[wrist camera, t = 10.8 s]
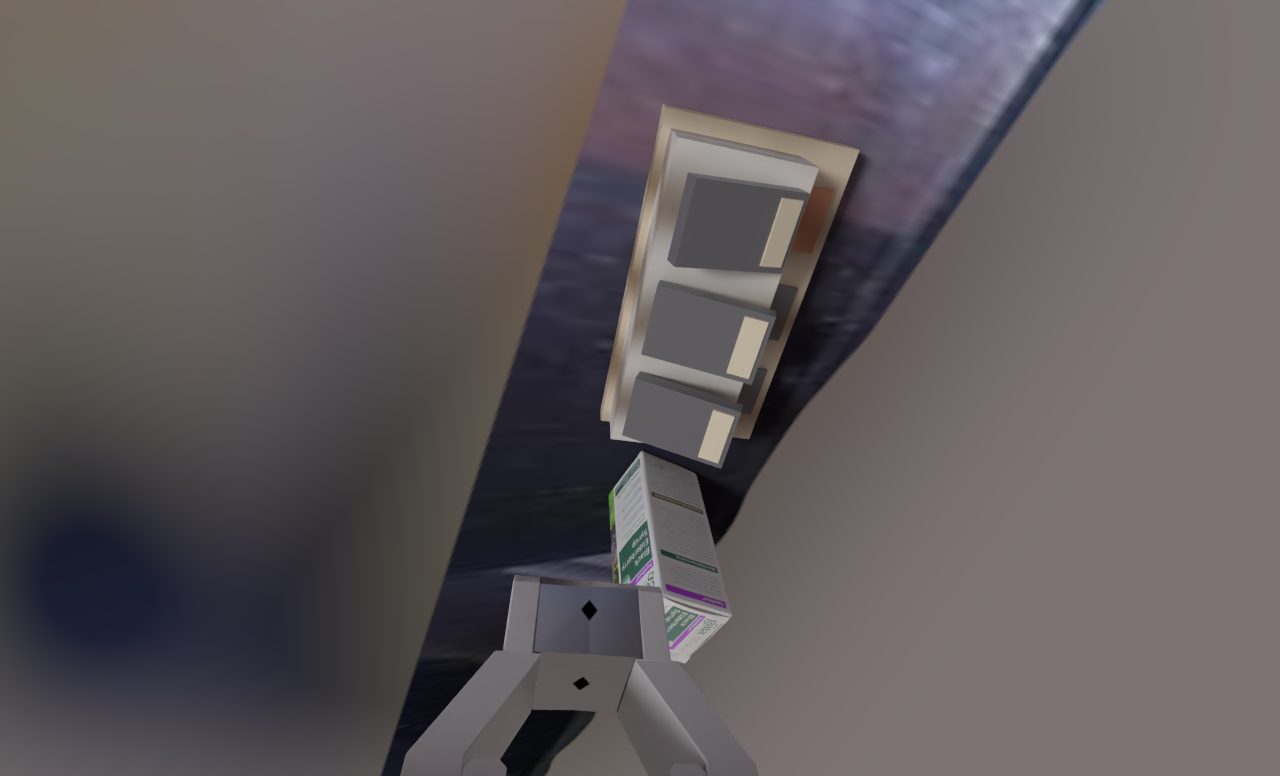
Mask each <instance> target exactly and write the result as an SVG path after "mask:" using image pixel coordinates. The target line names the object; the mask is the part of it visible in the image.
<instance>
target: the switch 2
mask: <svg viewBox="0 0 1280 776" xmlns="http://www.w3.org/2000/svg"><path fill="white" fill-rule="evenodd" d="M742 407H743V404H740V403H736V402H733V401H730V400H727V399H724V398H721V397H718V396H715V395H711V394H708V393H705V392H702V391H699V390H696V389H693V388H690V387H686V386H683V385H680V384H677V383H674V382H671V381H668V380H665V379H661V378H658V377H655V376H652V375H649V374H646V373H643V372H640V371H639V373H638V375H637V376H636V378H635V382H634V386H633V391H632V395H631V399H630V403H629V408H628V412H627V416H626V420H625V425H624V429H623V433H622V435H623V436H626V437H629V438H632V439H635V440H638V441H640V442H643V443H646V444H649V445H652V446H655V447H658V448H661V449H664V450H667V451H670V452H673V453H676V454H679V455H682V456H685V457H688V458H691V459H694V460H697V461H700V462H703V463H706V464H709V465H712V466H715V467H718V468H721V467H722V465H723V462H724V459H725V456H726V453H727V451H728V448H729V445H730V442H731V440H732V437H733V434H734V431H735V429H736V426H737V423H738V420H739V418H740V415H741V412H742Z"/></svg>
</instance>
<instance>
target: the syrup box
mask: <svg viewBox="0 0 1280 776" xmlns="http://www.w3.org/2000/svg"><path fill="white" fill-rule="evenodd" d="M609 509H610V528H611V548H612V566H613V583H622V584H635V585H642V586H655V587H660V589H661V590H662V595H663V603H664V611H665V618H666V626H667V634H668V642H669V650H670V658H671V660H672V661H678V662H682V663H686V662H687V660H688V659H689V658H690V656H691V655H692V654H693V653H694V652H695V651H696V650H697V649H698V648H699V647H700V646H702V645H703V644H704V643H705V642H706V641H707V640H708V639H709V638H711V637H712V635H713V634H714V633H716V632H717V630H718V629H719V628H721V626H722V625H723V624H724V623H726V622H727V621H728V620H729V619H730V618H731V617H732V613H731V609H730V605H729V601H728V597H727V593H726V590H725V585H724V581H723V578H722V574H721V570H720V566H719V561H718V558H717V554H716V550H715V546H714V542H713V538H712V534H711V530H710V526H709V522H708V518H707V515H706V511H705V507H704V502H703V499H702V495H701V491H700V487H699V483H698V479H697V475H696V474H695V473H693V472H691V471H689V470H687V469H685V468H682V467H680V466H678V465H676V464H673V463H671V462H668V461H666V460H664V459H661V458H659V457H656V456H654V455H651V454H649V453H646V452H644V451H641V452H640V453H639V455H638V457H637V458H636V459H635V460H634V462H633V463H632V464H631V465H630V467H629V468H628V469H627V471H626V472H625V473H624V475H623V476H622V477H621V479H620V480H619V482H618V483H617V484H616V486H615V487H614V488H613V490H612V491H611V493H610V494H609Z"/></svg>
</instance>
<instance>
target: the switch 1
mask: <svg viewBox="0 0 1280 776" xmlns="http://www.w3.org/2000/svg"><path fill="white" fill-rule="evenodd" d="M809 194H810V193H808V192H806V191H804V190H802V189H800V188H794V187H787V186H780V185H773V184H766V183H759V182H752V181H745V180H738V179H731V178H724V177H717V176H710V175H703V174H696V173H689V172H688V174H687V178H686V183H685V187H684V191H683V195H682V199H681V204H680V208H679V212H678V216H677V220H676V225H675V229H674V233H673V237H672V241H671V246H670V250H669V254H668V258H667V260H668V261H669V262H670V263H671V264H672V265H673V266H674V267H683V268H698V269H714V270H730V271H746V272H762V273H777V274H782V271H783V268H784V265H785V262H786V259H787V257H788V254H789V251H790V248H791V245H792V242H793V240H794V237H795V234H796V231H797V228H798V225H799V223H800V220H801V217H802V214H803V211H804V208H805V206H806V203H807V200H808V197H809Z"/></svg>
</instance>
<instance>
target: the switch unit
mask: <svg viewBox="0 0 1280 776" xmlns="http://www.w3.org/2000/svg"><path fill="white" fill-rule="evenodd" d="M859 151H860V150H858V149H856V148H853V147H851V146H848V145H844V144H839V143H835V142H830V141H826V140H821V139H817V138H812V137H808V136H804V135H799V134H795V133H790V132H786V131H781V130H777V129H772V128H768V127H764V126H759V125H755V124H750V123H746V122H741V121H737V120H733V119H728V118H724V117H719V116H715V115H710V114H706V113H701V112H697V111H693V110H688V109H684V108H679V107H675V106H670V105H666V104H663V106H662V111H661V116H660V121H659V126H658V131H657V136H656V141H655V145H654V150H653V155H652V160H651V165H650V170H649V175H648V180H647V185H646V190H645V194H644V199H643V204H642V209H641V214H640V219H639V224H638V229H637V234H636V239H635V243H634V248H633V253H632V258H631V263H630V268H629V273H628V278H627V283H626V288H625V293H624V297H623V302H622V307H621V312H620V317H619V322H618V327H617V332H616V337H615V342H614V346H613V351H612V356H611V361H610V366H609V371H608V376H607V381H606V386H605V391H604V396H603V400H602V405H601V420H602V421H610V432H611V439H616V440H625V441H633V442H640V441H638V440H635V439H632V438H629V437H626V436H623V435H622V433H623V429H624V425H625V420H626V416H627V412H628V408H629V403H630V399H631V395H632V391H633V386H634V382H635V378H636V376H637V375H638V373H639V371H640V372H643V373H646V374H649V375H652V376H655V377H658V378H661V379H665V380H668V381H671V382H674V383H677V384H680V385H683V386H686V387H690V388H693V389H696V390H699V391H702V392H705V393H708V394H711V395H715V396H718V397H721V398H724V399H727V400H730V401H733V402H736V403H740V404H743V407H742V412H741V415H740V418H739V420H738V423H737V426H736V429H735V431H734V434H733V437H736V438H744V439H749V438H750V435H751V433H752V430H753V427H754V425H755V422H756V420H757V417H758V414H759V412H760V409H761V407H762V404H763V401H764V399H765V396H766V394H767V391H768V388H769V386H770V383H771V380H772V378H773V375H774V373H775V370H776V367H777V365H778V362H779V360H780V357H781V354H782V352H783V349H784V347H785V344H786V341H787V339H788V336H789V334H790V331H791V328H792V326H793V323H794V320H795V318H796V315H797V313H798V310H799V307H800V305H801V302H802V300H803V297H804V294H805V292H806V289H807V287H808V284H809V281H810V279H811V276H812V273H813V271H814V268H815V266H816V263H817V260H818V258H819V255H820V253H821V250H822V247H823V245H824V242H825V240H826V237H827V234H828V232H829V229H830V226H831V224H832V221H833V219H834V216H835V213H836V211H837V208H838V206H839V203H840V200H841V198H842V195H843V193H844V190H845V187H846V185H847V182H848V179H849V177H850V174H851V172H852V169H853V166H854V164H855V161H856V159H857V156H858V153H859ZM688 172H689V173H696V174H703V175H710V176H717V177H724V178H731V179H738V180H745V181H752V182H759V183H766V184H773V185H780V186H787V187H794V188H800V189H802V190H804V191H806V192H808V193H810V194H809V197H808V200H807V203H806V206H805V208H804V211H803V214H802V217H801V220H800V223H799V225H798V228H797V231H796V234H795V237H794V240H793V242H792V245H791V248H790V251H789V254H788V257H787V259H786V262H785V265H784V268H783V271H782V274H777V273H762V272H746V271H730V270H714V269H698V268H683V267H674V266H673V265H672V264H671V263H670V262H669V261H668V260H667V258H668V254H669V250H670V246H671V241H672V237H673V233H674V229H675V225H676V220H677V216H678V212H679V208H680V204H681V199H682V195H683V191H684V187H685V183H686V178H687V174H688ZM660 280H663V281H667V282H670V283H674V284H678V285H682V286H685V287H689V288H693V289H697V290H700V291H704V292H708V293H712V294H715V295H719V296H723V297H726V298H730V299H734V300H738V301H741V302H745V303H749V304H753V305H756V306H760V307H764V308H768V309H771V310H775V311H776V319H775V322H774V325H773V327H772V330H771V333H770V336H769V338H768V341H767V344H766V347H765V349H764V352H763V355H762V358H761V360H760V363H759V366H758V369H757V371H756V374H755V377H754V380H753V382H752V385H750V384H746V383H743V382H739V381H735V380H732V379H728V378H724V377H721V376H717V375H714V374H710V373H706V372H703V371H699V370H695V369H692V368H688V367H685V366H681V365H677V364H674V363H670V362H666V361H663V360H659V359H656V358H652V357H648V356H645V355H641V353H642V348H643V344H644V340H645V336H646V331H647V327H648V323H649V319H650V314H651V310H652V306H653V301H654V297H655V293H656V289H657V285H658V283H659V281H660ZM641 443H643V442H641Z"/></svg>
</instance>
